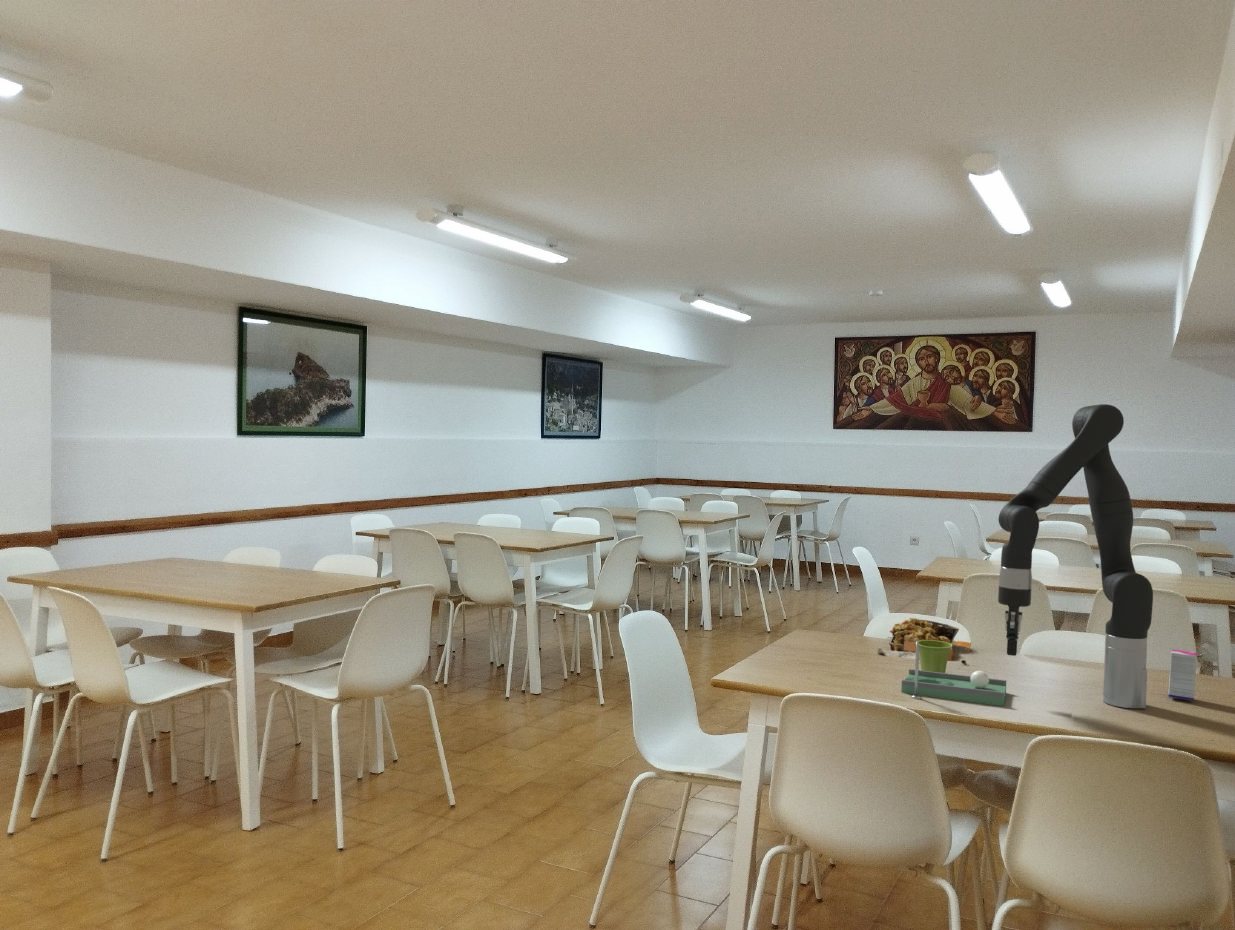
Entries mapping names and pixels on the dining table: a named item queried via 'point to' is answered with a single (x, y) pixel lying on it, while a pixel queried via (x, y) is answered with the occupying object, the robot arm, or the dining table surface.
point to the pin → (915, 647)
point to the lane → (955, 687)
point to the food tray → (921, 637)
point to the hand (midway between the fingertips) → (1011, 654)
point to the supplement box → (1182, 674)
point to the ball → (979, 679)
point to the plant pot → (934, 655)
